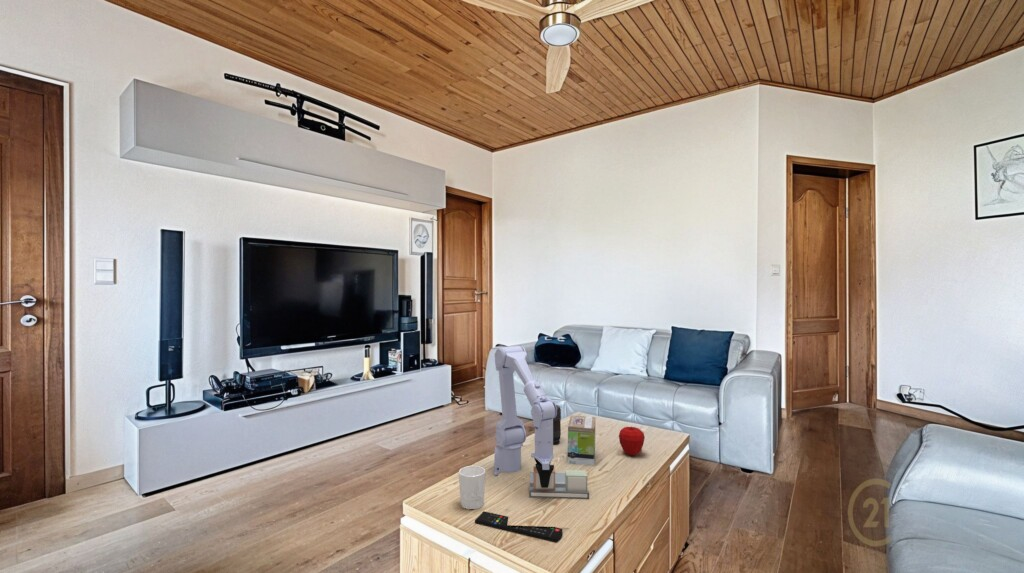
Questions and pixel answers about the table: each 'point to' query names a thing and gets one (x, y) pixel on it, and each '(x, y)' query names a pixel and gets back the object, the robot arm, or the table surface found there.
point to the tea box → (581, 440)
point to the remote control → (519, 527)
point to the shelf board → (557, 490)
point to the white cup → (472, 486)
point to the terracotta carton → (537, 481)
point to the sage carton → (575, 480)
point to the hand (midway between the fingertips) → (543, 483)
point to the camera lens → (557, 426)
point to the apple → (631, 440)
